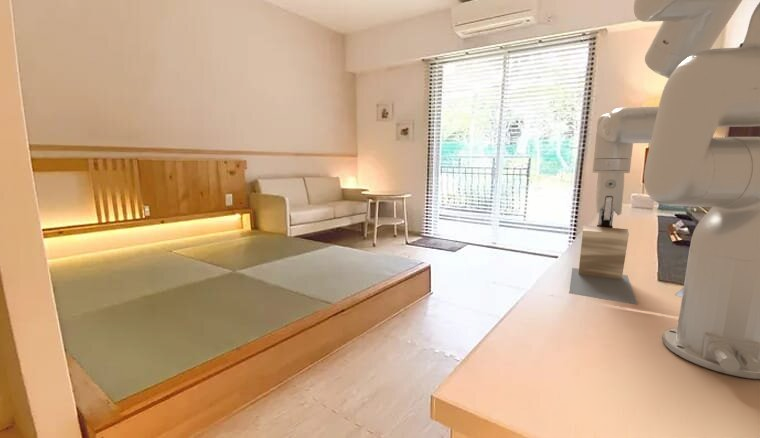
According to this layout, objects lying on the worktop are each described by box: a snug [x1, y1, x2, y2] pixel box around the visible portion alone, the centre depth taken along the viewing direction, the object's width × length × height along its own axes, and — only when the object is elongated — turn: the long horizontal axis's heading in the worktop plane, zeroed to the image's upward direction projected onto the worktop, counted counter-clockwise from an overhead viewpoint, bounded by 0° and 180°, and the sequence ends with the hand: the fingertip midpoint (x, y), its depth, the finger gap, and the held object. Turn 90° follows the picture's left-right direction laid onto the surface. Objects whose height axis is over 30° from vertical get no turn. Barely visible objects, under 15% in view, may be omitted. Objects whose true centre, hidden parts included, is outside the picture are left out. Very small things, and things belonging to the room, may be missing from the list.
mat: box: [568, 267, 639, 305], centre depth 81 cm, size 21×12×1 cm, turn 150°
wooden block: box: [578, 225, 630, 280], centre depth 85 cm, size 3×9×12 cm, turn 60°
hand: (603, 241), depth 87 cm, fingers closed
